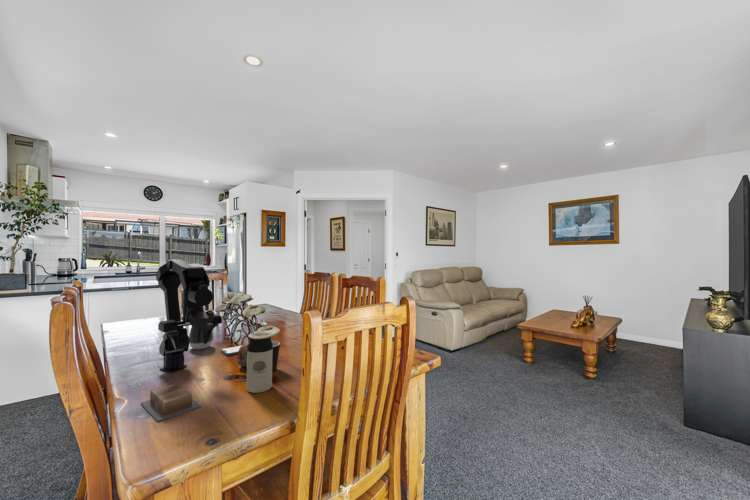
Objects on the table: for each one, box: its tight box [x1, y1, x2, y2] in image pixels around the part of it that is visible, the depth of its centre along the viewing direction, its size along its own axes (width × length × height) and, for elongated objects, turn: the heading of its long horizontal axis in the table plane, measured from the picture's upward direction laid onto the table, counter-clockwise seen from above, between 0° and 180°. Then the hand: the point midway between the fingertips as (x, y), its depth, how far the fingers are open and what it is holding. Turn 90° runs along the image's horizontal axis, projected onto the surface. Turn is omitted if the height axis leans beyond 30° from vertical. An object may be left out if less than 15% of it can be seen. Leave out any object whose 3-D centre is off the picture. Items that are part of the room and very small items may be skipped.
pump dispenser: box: [188, 326, 214, 351], centre depth 147 cm, size 10×10×15 cm
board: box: [149, 382, 193, 416], centre depth 93 cm, size 4×7×12 cm
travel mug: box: [246, 331, 273, 394], centre depth 105 cm, size 8×8×18 cm
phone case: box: [220, 344, 244, 357], centre depth 144 cm, size 9×2×16 cm
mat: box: [140, 398, 202, 423], centre depth 92 cm, size 15×11×1 cm
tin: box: [236, 342, 249, 368], centre depth 129 cm, size 15×3×8 cm, turn 168°
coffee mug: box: [271, 340, 281, 373], centre depth 122 cm, size 12×9×10 cm
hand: (191, 347), depth 110 cm, fingers open, 9 cm apart
